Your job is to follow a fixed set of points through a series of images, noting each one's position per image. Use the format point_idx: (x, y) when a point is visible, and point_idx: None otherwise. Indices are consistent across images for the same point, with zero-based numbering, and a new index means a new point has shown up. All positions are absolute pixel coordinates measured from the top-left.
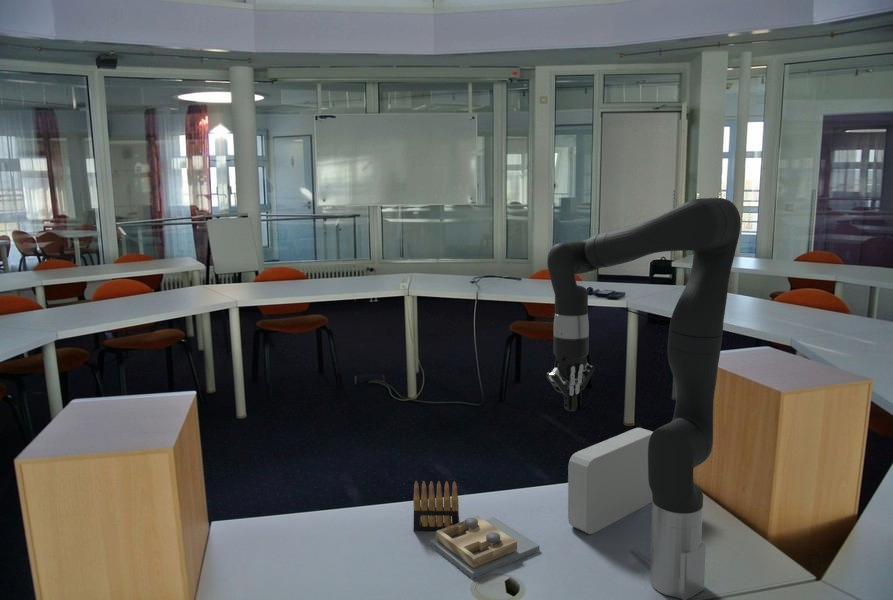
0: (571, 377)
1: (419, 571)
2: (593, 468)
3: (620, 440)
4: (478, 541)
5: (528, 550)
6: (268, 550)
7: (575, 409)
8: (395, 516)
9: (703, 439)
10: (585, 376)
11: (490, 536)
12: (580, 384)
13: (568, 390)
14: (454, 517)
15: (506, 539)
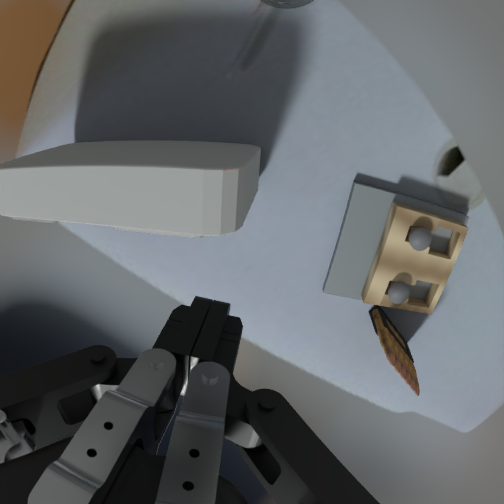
0: (203, 483)
1: (478, 275)
2: (215, 162)
3: (62, 194)
4: (427, 253)
5: (378, 189)
6: (487, 391)
7: (201, 298)
8: (386, 377)
9: None
10: (39, 403)
11: (425, 242)
12: (100, 385)
13: (225, 402)
14: (386, 322)
15: (402, 223)
